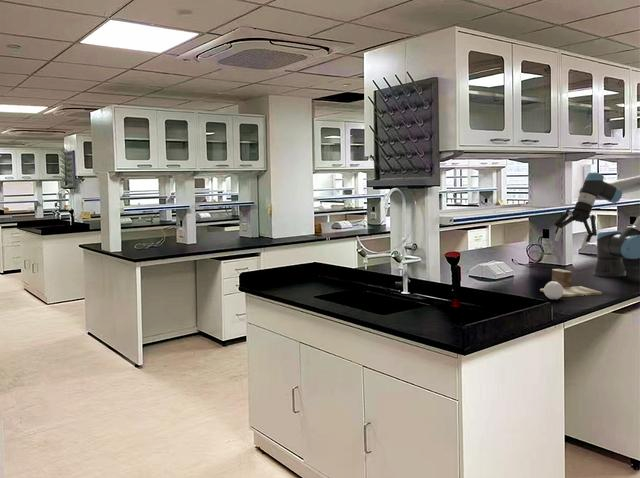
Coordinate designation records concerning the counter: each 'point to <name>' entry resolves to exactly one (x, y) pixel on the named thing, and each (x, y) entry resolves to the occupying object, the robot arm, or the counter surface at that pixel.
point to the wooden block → (562, 277)
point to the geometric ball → (553, 290)
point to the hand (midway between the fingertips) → (569, 244)
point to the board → (577, 291)
